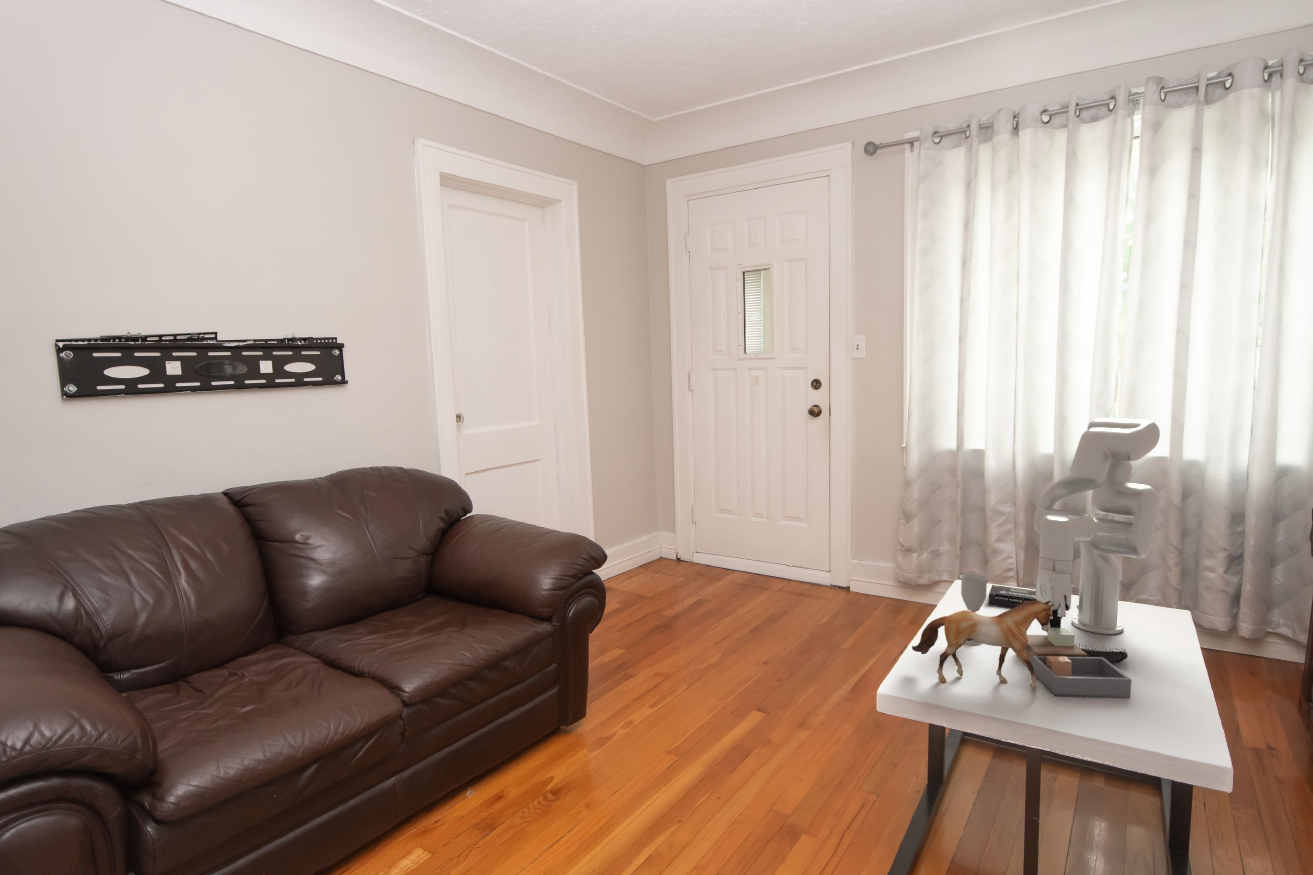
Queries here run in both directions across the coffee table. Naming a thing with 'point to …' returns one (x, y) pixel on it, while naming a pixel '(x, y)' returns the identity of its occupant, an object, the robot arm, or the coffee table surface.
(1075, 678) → the box
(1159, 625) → the coffee table surface
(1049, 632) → the pale green cube
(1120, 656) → the hairbrush
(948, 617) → the horse figurine
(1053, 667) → the peach cube block
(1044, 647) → the brown square platform
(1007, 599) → the wireless router
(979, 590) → the chalice
